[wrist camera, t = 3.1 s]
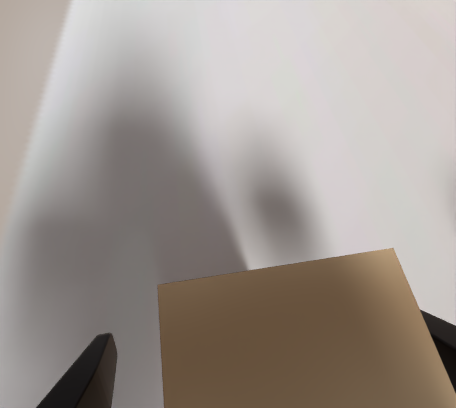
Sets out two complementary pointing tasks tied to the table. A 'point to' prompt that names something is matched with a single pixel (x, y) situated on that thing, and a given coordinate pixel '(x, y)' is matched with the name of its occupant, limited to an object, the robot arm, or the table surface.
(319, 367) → the tall oak block
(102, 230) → the table surface
